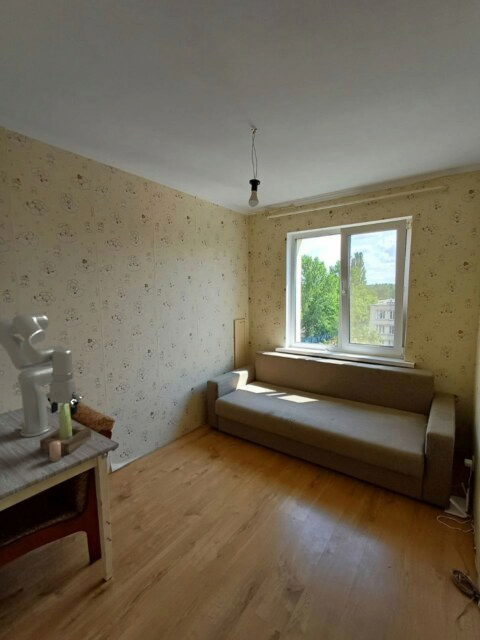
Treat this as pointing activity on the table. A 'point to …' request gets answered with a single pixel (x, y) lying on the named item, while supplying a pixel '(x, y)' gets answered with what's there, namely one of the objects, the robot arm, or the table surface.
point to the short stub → (55, 451)
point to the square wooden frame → (67, 446)
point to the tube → (65, 422)
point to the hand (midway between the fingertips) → (64, 413)
